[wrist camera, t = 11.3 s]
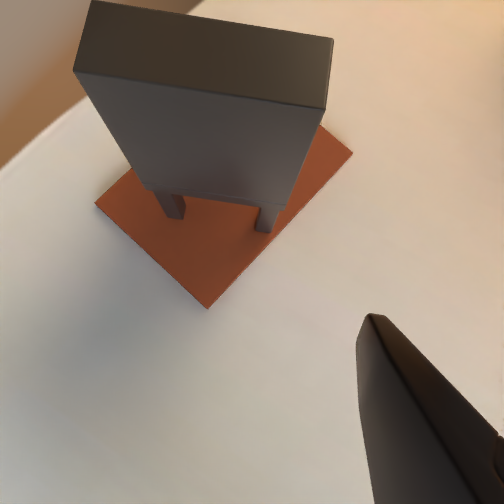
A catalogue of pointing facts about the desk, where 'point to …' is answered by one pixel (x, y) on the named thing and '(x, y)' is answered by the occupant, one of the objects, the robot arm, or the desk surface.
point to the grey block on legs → (206, 103)
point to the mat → (213, 224)
